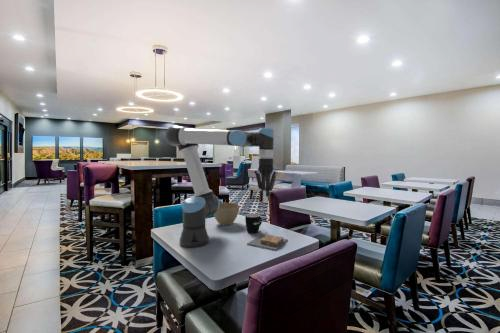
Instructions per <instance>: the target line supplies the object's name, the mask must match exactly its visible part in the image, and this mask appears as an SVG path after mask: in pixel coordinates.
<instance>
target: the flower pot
mask: <svg viewBox="0 0 500 333" xmlns="http://www.w3.org/2000/svg"><path fill="white" fill-rule="evenodd" d="M239 211H240V205H239V204H238V203H232V202H222V203H220V206H219V209H218V211H217V212H216V213H215V214H213V216H214V219H215V220H216V222H217V223H218V224H219V225H220V226H230V225H233V223H234V222H235V220H236V219H237V217H238V215H239Z"/></svg>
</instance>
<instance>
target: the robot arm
mask: <svg viewBox="0 0 500 333" xmlns="http://www.w3.org/2000/svg"><path fill="white" fill-rule="evenodd" d="M164 136H165V140H166V142H167V143H168V144H169V145H170V146H173V147H177V148H178V152H179V153H180V154H182V156H183V159H184V162H185V165H186V169H187V172H188V175H189V178H190V181H191V185H192V189H193V192H194V194H193V196H192V197H191V196H190V197H188V198H185V199H184V200H183V201H182V206H181V207H182V208H181V210H182V230H181V233H180V238H179V245H180V246H182V247H183V248H199V247H204V246H206V245H208V244H209V242H210V237H209V235H208V232H207V231H208V230H207V228H206V219H207V218H209V217H211V216H214V214H215V213H216V212H217V211H218V209H219V206H220V199H219V198H218V196H216V195H215V193H214V191H213V190H212V189H210V188H209V184H208V181H207V177H206V174H205V171H204V168H203V165H202V161H201V158H200V154H199V152H198V149H199V147H200V146H199V145H212V146H213V145H214V146H215V145H216V146H233V147H241V148H243V147H244V148H245V147H258V167H257V169H256V170H254V174H255V177H256V182H257V188H258V189H259V190H261V196H262V203H264V204H267V203H269V197H270V190H273V189H274V187H275V186H274V185H275V182H276V181H275V180H276V177H277V175H278V174H279V172H278V171H277V170H275V169H274V159H273V158H274V138H275V135H274V129H273V128H271V127H270V128H269V127H263V128H261V127H260V128H259V130H258V132H249V131H245V130H244V131H243V130H241V129H235V130H234V129H233V130H232V129H231V130H230V129H228V130H227V129H205V128H204V129H202V128H200V129H199V128H193V127H190V126H182V125H174V124H173V125H171V126H169V127H168V128H167V129H166V131H165V134H164ZM271 174H272V175H271Z"/></svg>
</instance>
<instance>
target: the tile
mask: <svg viewBox="0 0 500 333" xmlns="http://www.w3.org/2000/svg"><path fill="white" fill-rule="evenodd" d="M284 239H285V238H284V236H278V235H273V234H267V235H266V236H265V237H264V238H262V239H261V244H266V245H271V246H275V247H277V246H278V245H279V244H281V243H282V242H283V240H284Z"/></svg>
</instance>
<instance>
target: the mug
mask: <svg viewBox="0 0 500 333" xmlns="http://www.w3.org/2000/svg"><path fill="white" fill-rule="evenodd" d="M244 220H245V228H246V231H247V233H248V234H257V233H258V232H259V231H260V227H261V225H262V223H263V219H262V217H261V214H259V213H256V212H255V213H254V212H253V213H251V212H249V213H245V219H244Z"/></svg>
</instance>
